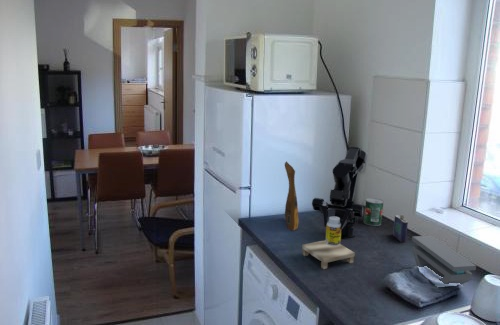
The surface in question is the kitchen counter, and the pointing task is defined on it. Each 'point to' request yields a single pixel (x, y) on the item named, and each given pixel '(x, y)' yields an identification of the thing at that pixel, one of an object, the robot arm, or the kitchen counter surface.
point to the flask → (400, 228)
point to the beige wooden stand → (328, 252)
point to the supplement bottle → (333, 231)
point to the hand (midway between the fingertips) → (333, 227)
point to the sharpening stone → (442, 260)
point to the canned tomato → (373, 211)
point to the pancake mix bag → (291, 200)
